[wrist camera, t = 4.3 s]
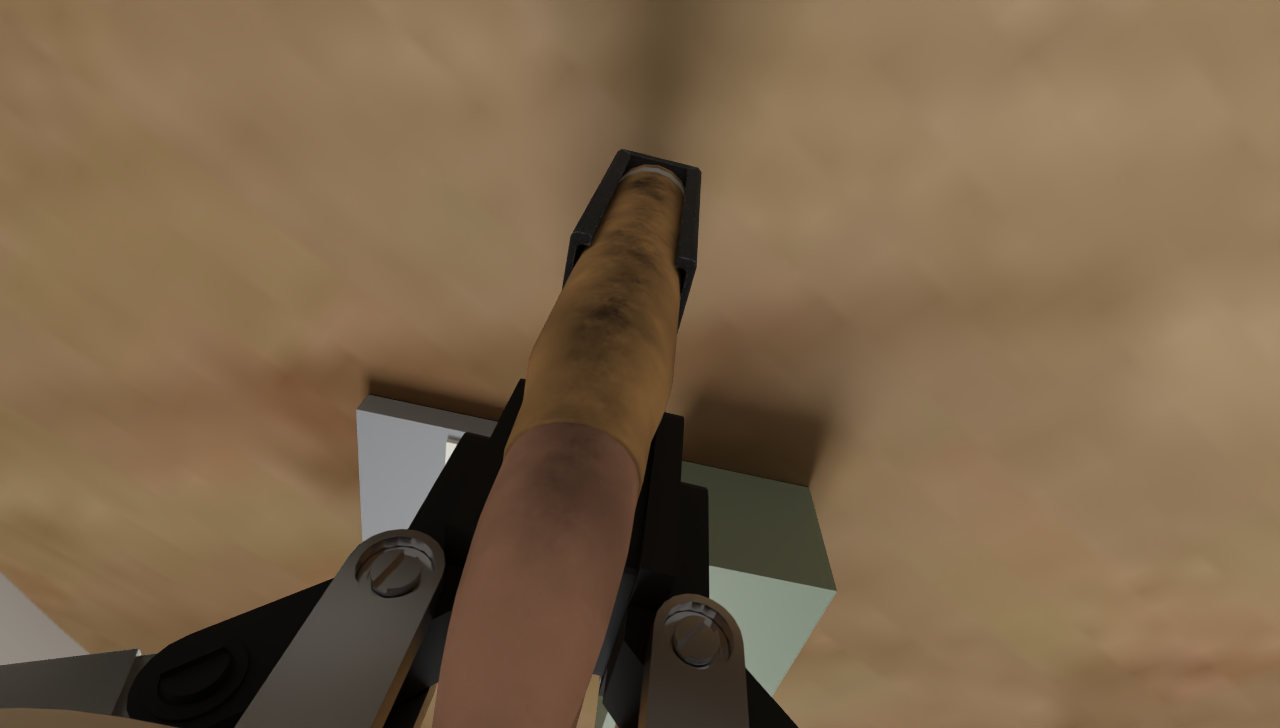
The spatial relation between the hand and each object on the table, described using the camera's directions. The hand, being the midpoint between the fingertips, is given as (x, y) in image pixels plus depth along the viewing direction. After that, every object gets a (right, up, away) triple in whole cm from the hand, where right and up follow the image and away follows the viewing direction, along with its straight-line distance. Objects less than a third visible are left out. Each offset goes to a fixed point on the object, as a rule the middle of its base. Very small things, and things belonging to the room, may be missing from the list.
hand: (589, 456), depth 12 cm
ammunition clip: (0, +2, +3) cm, 4 cm away
